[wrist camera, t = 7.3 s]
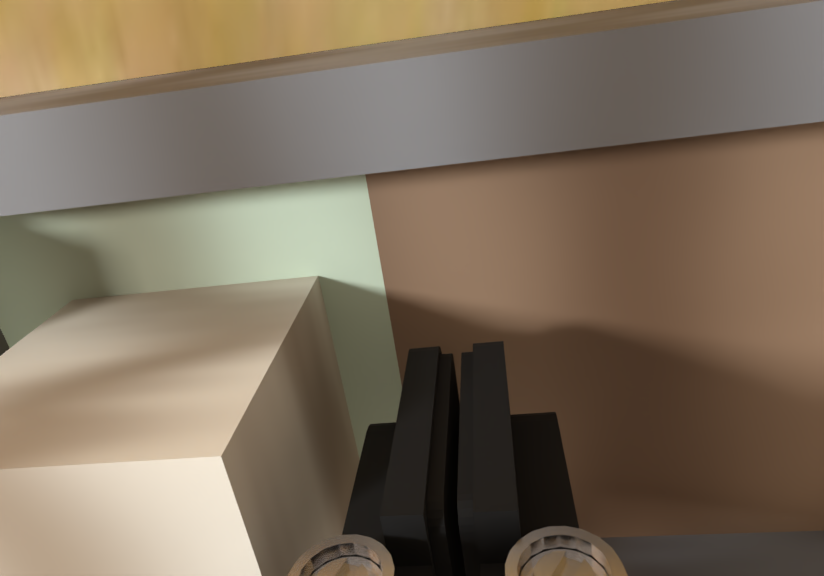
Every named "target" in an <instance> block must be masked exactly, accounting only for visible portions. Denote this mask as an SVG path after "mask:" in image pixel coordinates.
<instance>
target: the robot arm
mask: <svg viewBox="0 0 824 576" xmlns="http://www.w3.org/2000/svg"><path fill="white" fill-rule="evenodd" d="M287 576H628V575H627V573H626V570H625V568H624V566H623V564H622V562H621V560H620V559H619V557H618V556H617V554H616V553H615V551H614V550H613V548H612V547H611V546H610V545H608V544H607V543H606V542H605V541H603V540H602V539H601V538H600V537H598V536H596V535H594V534H592V533H590V532H588V531H585V530H583V529H579V525H578V520H577V515H576V510H575V504H574V499H573V494H572V489H571V484H570V479H569V474H568V469H567V464H566V459H565V454H564V449H563V444H562V439H561V434H560V429H559V424H558V419H557V415H556V412H544V413H529V414H514V415H511V414H510V404H509V393H508V383H507V373H506V363H505V352H504V342H503V341H497V342H485V343H473V352H462V353H461V383H460V401H459V394H458V387H457V379H456V372H455V365H454V358H453V354H452V353H449V354H442V351H441V348H440V346H436V347H424V348H412V349H409V352H408V358H407V363H406V369H405V375H404V380H403V386H402V392H401V397H400V403H399V409H398V414H397V420H396V422H392V423H377V424H370V425H369V426H368V429H367V432H366V436H365V440H364V444H363V448H362V452H361V457H360V461H359V465H358V469H357V473H356V478H355V482H354V486H353V490H352V494H351V498H350V503H349V507H348V511H347V515H346V519H345V524H344V528H343V532H342V535H339V536H336V537H332V538H329V539H326V540H324V541H322V542H320V543H318V544H316V545H315V546H313V547H311V548H310V549H308V550H307V551H306V552H305V553H304V554H303V555H302V556H301V557H300V558H298V560H297V561H296V563H295V564H294V566H293V567H292V569H291V570H290V572H289V573H288V575H287Z"/></svg>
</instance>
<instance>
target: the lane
mask: <svg viewBox="0 0 824 576" xmlns="http://www.w3.org/2000/svg"><path fill="white" fill-rule="evenodd" d="M310 276H318V278H319V282H320V286H321V291H322V295H323V300H324V304H325V309H326V313H327V317H328V322H329V326H330V331H331V335H332V340H333V344H334V349H335V353H336V357H337V362H338V366H339V371H340V375H341V380H342V384H343V388H344V393H345V397H346V402H347V406H348V411H349V415H350V419H351V424H352V428H353V433H354V437H355V442H356V446H357V450H358V455H359V459H360V457H361V452H362V448H363V444H364V440H365V436H366V432H367V429H368V426H369V425H370V424H377V423H392V422H396V420H397V414H398V409H399V403H400V397H401V392H402V386H403V380H404V375H405V369H406V363H407V358H408V352H409V349H412V348H424V347H436V346H440V348H441V351H442V354H449V353H452V354H453V358H454V365H455V372H456V379H457V387H458V394H459V401H460V383H461V353H462V352H473V343H485V342H497V341H503V342H504V352H505V363H506V373H507V383H508V393H509V404H510V414H511V415H514V414H529V413H544V412H556V415H557V419H558V424H559V429H560V434H561V439H562V444H563V449H564V454H565V459H566V464H567V469H568V474H569V479H570V484H571V489H572V494H573V499H574V504H575V510H576V515H577V520H578V525H579V529H583V530H585V531H588V532H590V533H592V534H594V535H596V536H598V537H600V538H601V539H602V540H603V541H605V542H606V543H607V544H608V545H610V546H611V547H612V548H613V550H614V551H615V553H616V554H617V556H618V557H619V559H620V560H621V562H622V564H623V566H624V568H625V570H626V573H627V575H628V576H824V0H675V1H668V2H661V3H654V4H647V5H640V6H633V7H626V8H619V9H612V10H605V11H598V12H591V13H585V14H578V15H571V16H564V17H557V18H550V19H543V20H536V21H529V22H522V23H515V24H508V25H501V26H494V27H488V28H481V29H474V30H467V31H460V32H453V33H446V34H439V35H432V36H425V37H418V38H411V39H404V40H397V41H390V42H384V43H377V44H370V45H363V46H356V47H349V48H342V49H335V50H328V51H321V52H314V53H307V54H300V55H293V56H287V57H280V58H273V59H266V60H259V61H252V62H245V63H238V64H231V65H224V66H217V67H210V68H203V69H196V70H190V71H183V72H176V73H169V74H162V75H155V76H148V77H141V78H134V79H127V80H120V81H113V82H106V83H99V84H92V85H86V86H79V87H72V88H65V89H58V90H51V91H44V92H37V93H30V94H23V95H16V96H9V97H2V98H0V356H1V355H2V354H3V353H5V352H6V351H7V350H8V349H10V348H11V347H12V346H14V345H15V344H16V343H17V342H19V341H20V340H21V339H23V338H24V337H25V336H26V335H28V334H29V333H30V332H32V331H33V330H34V329H35V328H37V327H38V326H39V325H41V324H42V323H43V322H45V321H46V320H47V319H48V318H50V317H51V316H52V315H54V314H55V313H56V312H57V311H59V310H60V309H61V308H63V307H64V306H65V305H66V304H68V303H69V302H70V301H72V300H77V299H87V298H97V297H108V296H118V295H128V294H138V293H148V292H158V291H168V290H178V289H188V288H199V287H209V286H219V285H229V284H239V283H249V282H259V281H269V280H280V279H290V278H300V277H310Z"/></svg>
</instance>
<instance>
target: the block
mask: <svg viewBox="0 0 824 576" xmlns="http://www.w3.org/2000/svg"><path fill="white" fill-rule="evenodd" d="M359 461H360V459H359V455H358V450H357V446H356V442H355V437H354V433H353V428H352V424H351V419H350V415H349V411H348V406H347V402H346V397H345V393H344V388H343V384H342V380H341V375H340V371H339V366H338V362H337V357H336V353H335V349H334V344H333V340H332V335H331V331H330V326H329V322H328V317H327V313H326V309H325V304H324V300H323V295H322V291H321V286H320V282H319V278H318V276H310V277H300V278H290V279H280V280H269V281H259V282H249V283H239V284H229V285H219V286H209V287H199V288H188V289H178V290H168V291H158V292H148V293H138V294H128V295H118V296H108V297H97V298H87V299H77V300H72V301H70V302H69V303H68V304H66V305H65V306H64V307H63V308H61V309H60V310H59V311H57V312H56V313H55V314H54V315H52V316H51V317H50V318H48V319H47V320H46V321H45V322H43V323H42V324H41V325H39V326H38V327H37V328H35V329H34V330H33V331H32V332H30V333H29V334H28V335H26V336H25V337H24V338H23V339H21V340H20V341H19V342H17V343H16V344H15V345H14V346H12V347H11V348H10V349H8V350H7V351H6V352H5V353H3V354H2V355H1V356H0V576H287V575H288V573H289V572H290V570H291V569H292V567H293V566H294V564H295V563H296V561H297V560H298V558H300V557H301V556H302V555H303V554H304V553H305V552H306V551H307V550H308V549H310V548H311V547H313V546H315V545H316V544H318V543H320V542H322V541H324V540H326V539H329V538H332V537H336V536H339V535H342V532H343V528H344V524H345V519H346V515H347V511H348V507H349V503H350V498H351V494H352V490H353V486H354V482H355V478H356V473H357V469H358V465H359Z"/></svg>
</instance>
